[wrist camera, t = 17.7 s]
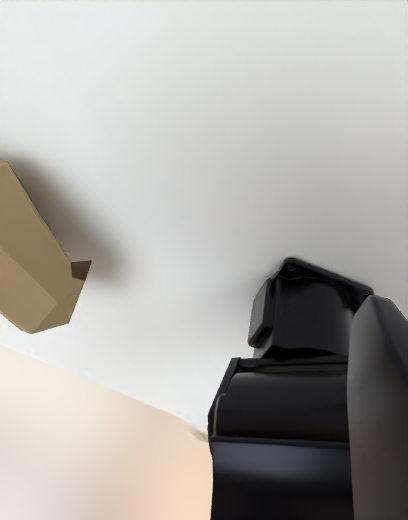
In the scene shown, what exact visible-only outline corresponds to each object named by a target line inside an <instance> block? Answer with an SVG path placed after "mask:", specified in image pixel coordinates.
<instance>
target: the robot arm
mask: <svg viewBox="0 0 408 520" xmlns="http://www.w3.org/2000/svg"><path fill="white" fill-rule="evenodd" d="M288 265H293V266H288ZM364 294H367V295H364ZM248 344H249V346H251V347H254V355H253V358H248V359H241V358H240V357H239V358H232V359H231V361H230V363H229V366H228V368H227V370H226V373H225V375H224V377H223V380H222V382H221V384H220V387H219V389H218V391H217V394H216V396H215V398H214V401H213V403H212V406H211V408H210V411H209V413H208V428H207V430H208V440H209V447H210V452H211V455H212V459H213V493H212V506H211V507H212V508H211V519H210V520H408V321H407V319H406V318H405V317H404V316H403V314H402V313H401V312H400V311H399V309H398V308H397V307H396V306H395V304H394V303H393V302H392V301H391V300H390V299H387V298H384V297H379V296H375V295H374V291H373V289H371V288H369V287H367V286H364V285H362V284H359V283H356V282H354V281H351V280H349V279H346V278H343V277H341V276H338V275H336V274H333V273H331V272H328V271H325V270H323V269H320V268H318V267H315V266H312V265H310V264H307V263H305V262H302V261H299V260H297V259H294V258H288V259H286V260H284V262H283V263H282V265H281V266H280V268H279V269H278V271H277V272H276V274H275V275H274V277H273V278H269V279H267V280H266V282H265V283H264V285H263V286H262V288H261V289H260V291H259V292H258V294H257V295H256V297H255V298H254V301H253V308H252V312H251V321H250V328H249V335H248Z"/></svg>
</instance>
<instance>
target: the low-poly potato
mask: <svg viewBox="0 0 408 520" xmlns="http://www.w3.org/2000/svg"><path fill="white" fill-rule="evenodd" d="M91 262H92V260H90V261H80V262H71V260H70V259H69V257H68V256H67V254H66V253H65V251H64V250H63V248H62V247H61V245H60V244H59V242H58V241H57V239H56V238H55V236H54V235H53V233H52V232H51V230H50V229H49V227H48V226H47V224H46V223H45V221H44V220H43V218H42V217H41V215H40V214H39V212H38V210H37V209H36V207H35V206H34V204H33V202H32V201H31V199H30V198H29V196H28V194H27V193H26V191H25V190H24V188H23V186H22V185H21V183H20V182H19V180H18V178H17V177H16V175H15V174H14V172H13V170H12V169H11V167H10V166H9V164H8V163H6V162H0V313H1V314H2V315H3V316H4V317H5V318H7V319H8V320H9V321H10V322H12V323H13V324H14V325H15V326H16V327H18V328H19V329H20V330H22V331H25V332H27V333H30V334H34V333H37V332H40V331H44V330H47V329H50V328H54V327H57V326H60V325H64V324H67V323H69V321H70V319H71V316H72V313H73V311H74V308H75V306H76V303H77V300H78V298H79V295H80V293H81V290H82V287H83V285H84V282H85V279H86V277H87V274H88V271H89V268H90V265H91Z"/></svg>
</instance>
